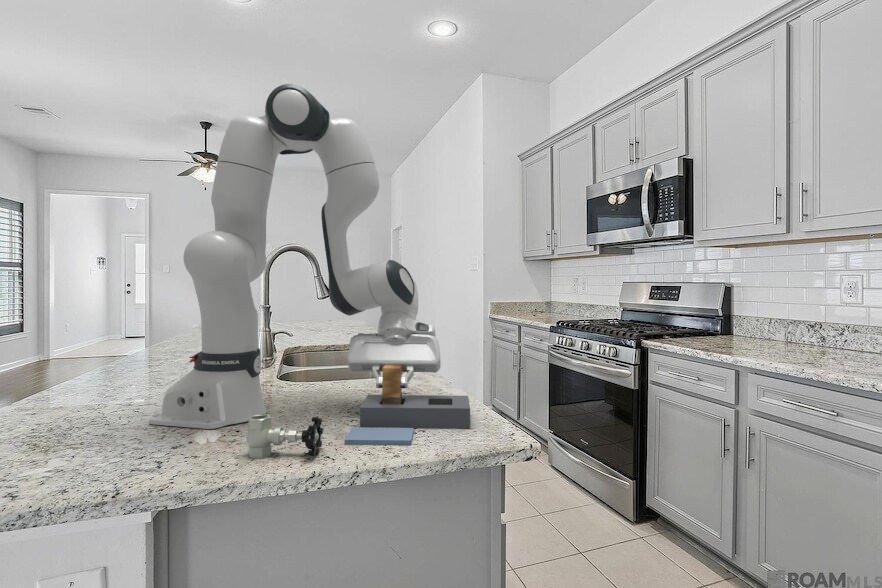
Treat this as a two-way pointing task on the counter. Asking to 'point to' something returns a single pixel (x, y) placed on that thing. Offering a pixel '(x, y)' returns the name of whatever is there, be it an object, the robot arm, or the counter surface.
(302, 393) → the counter surface
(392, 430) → the pad
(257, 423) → the valve
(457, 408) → the holder
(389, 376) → the plug
